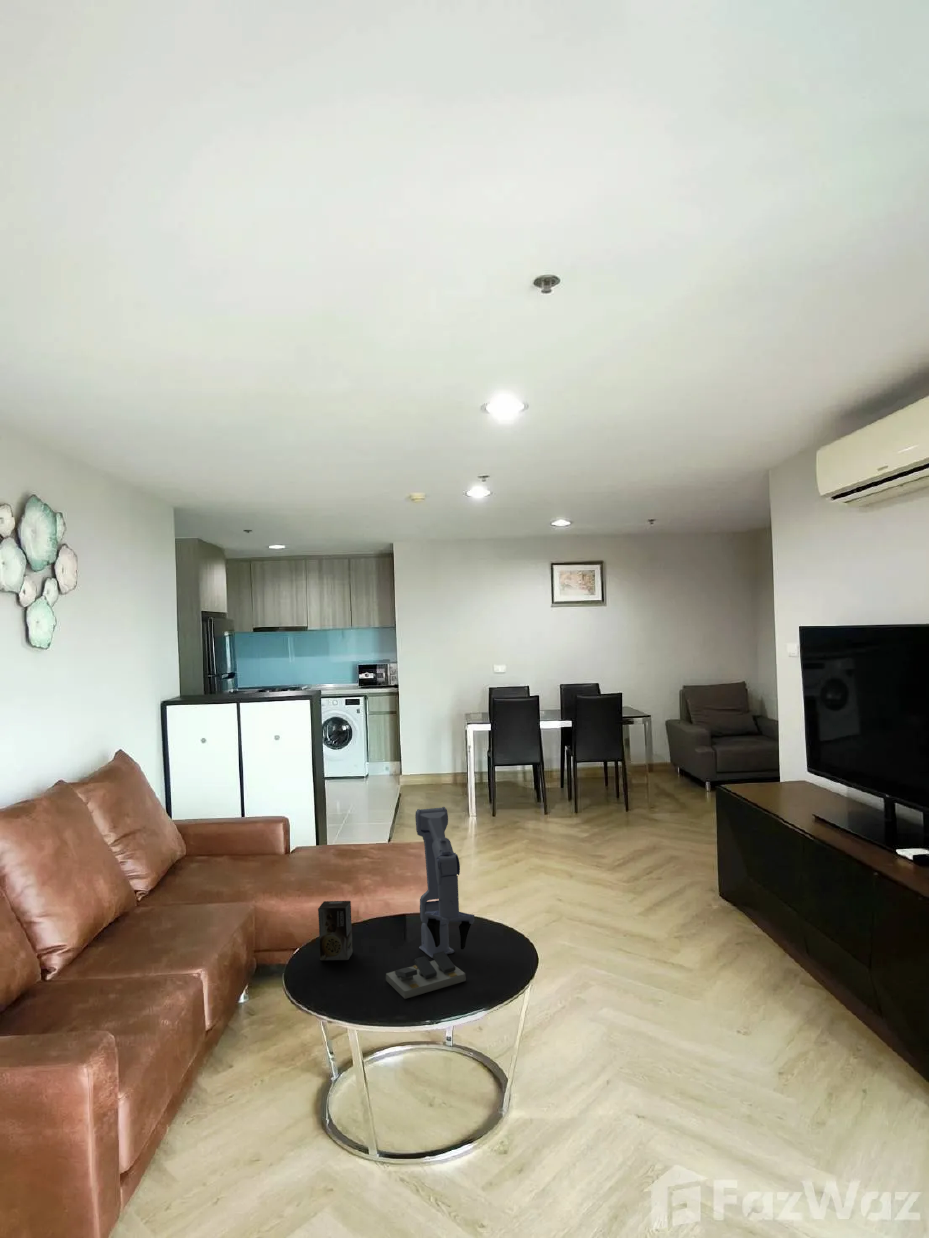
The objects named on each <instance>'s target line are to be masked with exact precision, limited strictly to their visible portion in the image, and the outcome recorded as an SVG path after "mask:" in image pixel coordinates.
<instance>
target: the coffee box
mask: <svg viewBox="0 0 929 1238" xmlns="http://www.w3.org/2000/svg"><path fill="white" fill-rule="evenodd" d="M351 903H352V902H351V900H327V901H323V902H322V903H321V904H320V906H319V907H318V908H317V911H318V912H317V916H318V935H319V938H318V939H319V961H348V960H349V959H350V957H352V955H353V953H354V952H353V951H354V950H353V930H352V928H353V927H352V904H351Z"/></svg>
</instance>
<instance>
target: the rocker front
mask: <svg viewBox="0 0 929 1238" xmlns="http://www.w3.org/2000/svg"><path fill="white" fill-rule="evenodd" d="M394 971H395V974H396V975H397V976H401V977H405V978H406V977H410V976H414V975H417V970H415V969H411V968H408V967H403V968H400V969H396V970H394Z"/></svg>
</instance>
